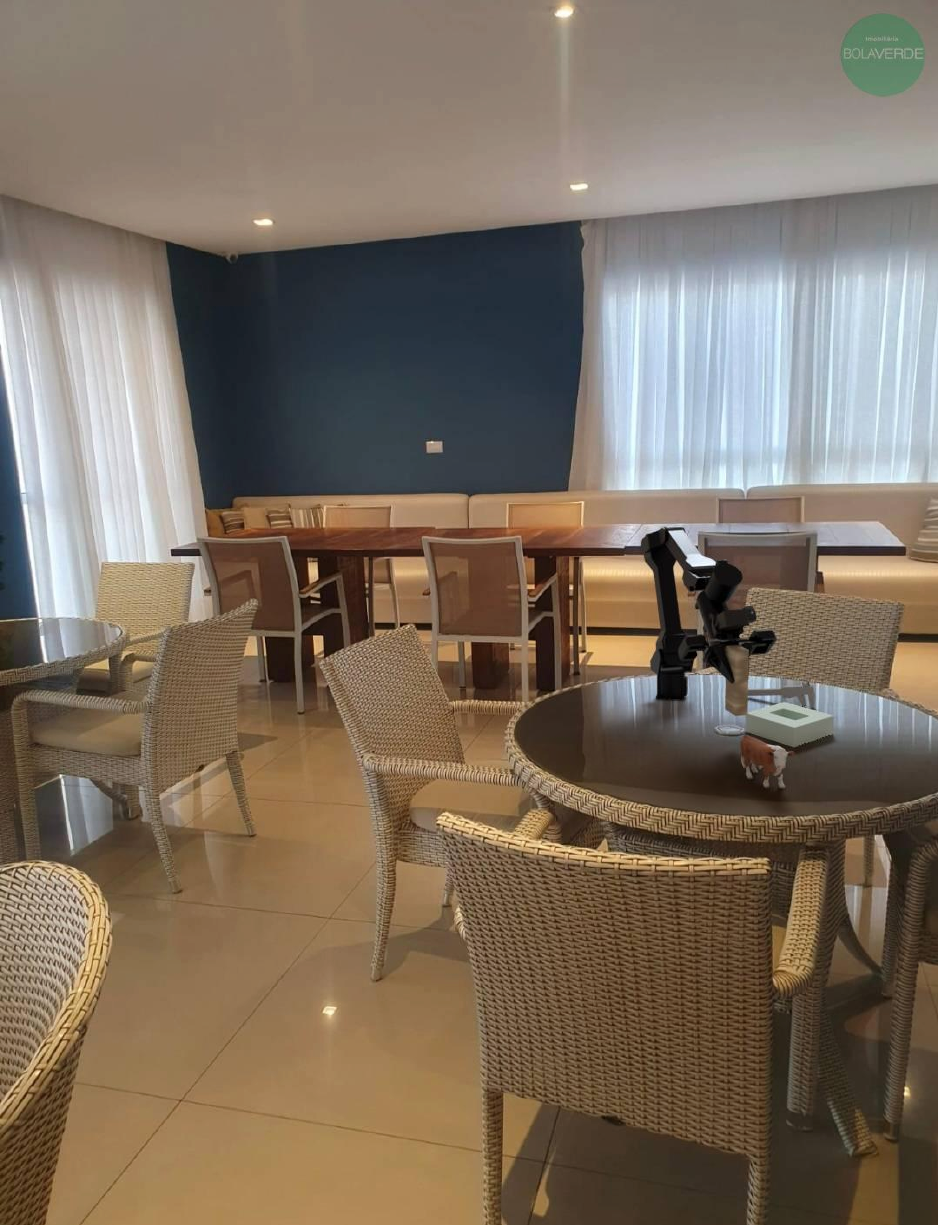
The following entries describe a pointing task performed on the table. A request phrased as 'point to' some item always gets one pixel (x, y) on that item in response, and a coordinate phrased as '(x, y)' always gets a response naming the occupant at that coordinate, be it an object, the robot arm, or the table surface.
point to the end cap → (789, 724)
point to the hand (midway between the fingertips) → (739, 681)
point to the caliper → (788, 693)
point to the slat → (737, 681)
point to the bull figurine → (763, 758)
